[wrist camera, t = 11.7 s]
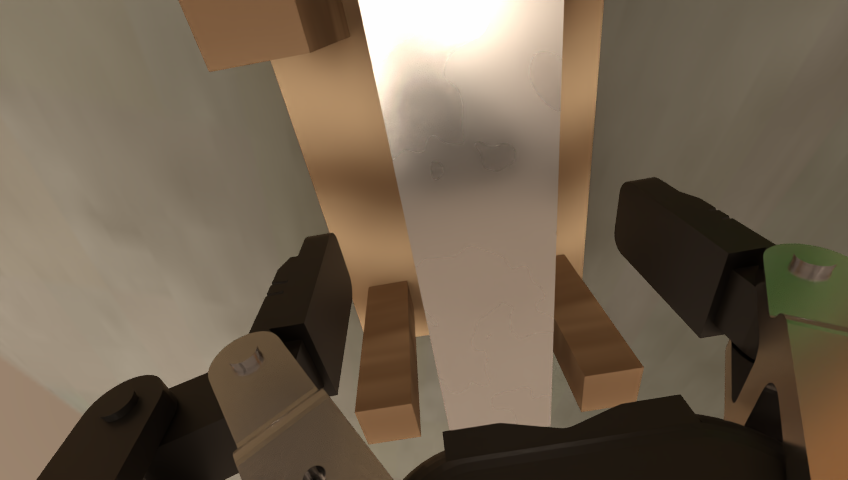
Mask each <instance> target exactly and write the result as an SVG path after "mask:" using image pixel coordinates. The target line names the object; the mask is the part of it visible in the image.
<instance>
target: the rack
mask: <svg viewBox="0 0 848 480" xmlns="http://www.w3.org/2000/svg"><path fill="white" fill-rule="evenodd" d="M179 3H180V5H181V7H182V10H183V12H184V14H185V17H186V19H187V21H188V24H189V26H190V28H191V31H192V33H193V35H194V38H195V40H196V42H197V45H198V47H199V49H200V52H201V54H202V56H203V59H204V61H205V63H206V66H207V68H208V70H209V72H211V71H217V70H222V69H227V68H233V67H238V66H243V65H249V64H254V63H259V62H265V61H270V60H271V63H272V66H273V69H274V72H275V74H276V77H277V80H278V83H279V86H280V89H281V92H282V95H283V98H284V101H285V104H286V107H287V109H288V112H289V115H290V118H291V121H292V124H293V127H294V130H295V133H296V136H297V139H298V142H299V144H300V147H301V150H302V153H303V156H304V159H305V162H306V165H307V168H308V171H309V174H310V177H311V180H312V182H313V185H314V188H315V191H316V194H317V197H318V200H319V203H320V206H321V209H322V212H323V215H324V217H325V220H326V223H327V226H328V229H329V232H330V233H334V234H335V236H336V238H337V240H338V243H339V246H340V249H341V252H342V255H343V257H344V260H345V263H346V266H347V269H348V272H349V275H350V279H351V284H352V299H353V302H354V305H355V308H356V311H357V314H358V317H359V320H360V323H361V325H362V328H363V331H364V334H363V343H362V352H361V361H360V370H359V379H358V388H357V398H356V407H355V414H356V416H357V419H358V421H359V423H360V426H361V428H362V430H363V433H364V435H365V437H366V440H367V442H368V444H374V443H381V442H388V441H394V440H401V439H407V438H414V437H420V436H421V428H420V409H419V391H418V373H417V354H416V337H418V336H424V335H429V330H428V325H427V321H426V316H425V311H424V307H423V302H422V297H421V293H420V288H419V283H418V278H417V274H416V269H415V264H414V260H413V255H412V250H411V246H410V241H409V236H408V232H407V227H406V222H405V217H404V213H403V208H402V203H401V199H400V194H399V189H398V185H397V180H396V175H395V170H394V166H393V161H392V156H391V152H390V147H389V142H388V138H387V133H386V128H385V124H384V119H383V114H382V109H381V105H380V100H379V95H378V91H377V86H376V81H375V77H374V72H373V67H372V62H371V58H370V53H369V48H368V44H367V39H366V34H365V30H364V25H363V20H362V16H361V11H360V6H359V1H358V0H179ZM603 6H604V0H564V18H563V49H562V81H561V112H560V143H559V175H558V206H557V238H556V269H555V300H554V332H553V352H554V354H555V356H556V359H557V361H558V363H559V365H560V367H561V369H562V371H563V374H564V376H565V378H566V380H567V382H568V384H569V386H570V389H571V391H572V393H573V395H574V397H575V399H576V402H577V404H578V406H579V408H580V410H581V412H584V411H590V410H597V409H603V408H610V407H615V406H617V405H620V404H623V403H629V402H636V400H637V396H638V391H639V387H640V382H641V378H642V373H643V369H644V367H643V366H642V364H641V363H640V361H639V360H638V358H637V357H636V356H635V354H634V353H633V351H632V350H631V349H630V347H629V346H628V344H627V343H626V341H625V340H624V339H623V337H622V336H621V334H620V333H619V331H618V330H617V329H616V327H615V326H614V324H613V323H612V321H611V320H610V319H609V317H608V316H607V314H606V313H605V311H604V310H603V309H602V307H601V306H600V304H599V303H598V302H597V300H596V299H595V297H594V296H593V294H592V293H591V292H590V290H589V289H588V287H587V286H586V284H585V283H584V282H583V280H582V274H583V261H584V248H585V235H586V223H587V210H588V197H589V184H590V172H591V159H592V146H593V133H594V121H595V108H596V95H597V82H598V70H599V57H600V44H601V31H602V19H603Z"/></svg>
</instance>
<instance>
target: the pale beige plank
mask: <svg viewBox="0 0 848 480" xmlns="http://www.w3.org/2000/svg"><path fill="white" fill-rule="evenodd" d="M358 1H359V6H360V11H361V16H362V20H363V25H364V30H365V34H366V39H367V44H368V48H369V53H370V58H371V62H372V67H373V72H374V77H375V81H376V86H377V91H378V95H379V100H380V105H381V109H382V114H383V119H384V124H385V128H386V133H387V138H388V142H389V147H390V152H391V156H392V161H393V166H394V170H395V175H396V180H397V185H398V189H399V194H400V199H401V203H402V208H403V213H404V217H405V222H406V227H407V232H408V236H409V241H410V246H411V250H412V255H413V260H414V264H415V269H416V274H417V278H418V283H419V288H420V293H421V297H422V302H423V307H424V311H425V316H426V321H427V325H428V330H429V335H430V340H431V344H432V349H433V354H434V358H435V363H436V368H437V372H438V377H439V382H440V386H441V391H442V396H443V401H444V405H445V410H446V415H447V419H448V424H449V429H450V430H457V429H463V428H470V427H476V426H482V425H489V424H495V423H509V424H519V425H530V426H541V427H545V426H551V394H552V363H553V332H554V300H555V269H556V238H557V206H558V175H559V143H560V112H561V81H562V49H563V18H564V0H358Z"/></svg>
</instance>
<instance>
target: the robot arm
mask: <svg viewBox="0 0 848 480" xmlns="http://www.w3.org/2000/svg"><path fill="white" fill-rule="evenodd" d="M615 242H616V245H617V248H618V250H619V251H620V253H621V254H622V255H623V256H624V257H625V258H626V259H627V260H628V261H629V263H630V264H631V265H632V266H633V267H634V268H635V269H636V270H637V271H638V272H639V273H640V274H641V275H642V277H643V278H644V279H645V280H646V281H647V282H648V283H649V284H650V285H651V286H652V287H653V288H654V289H655V290H656V292H657V293H658V294H659V295H660V296H661V297H662V298H663V299H664V300H665V301H666V302H667V303H668V304H669V305H670V307H671V308H672V309H673V310H674V311H675V312H676V313H677V314H678V315H679V316H680V317H681V318H682V319H683V321H684V322H685V323H686V324H687V325H688V326H689V327H690V328H691V329H692V330H693V331H694V332H695V333H696V334H697V336H698V337H699V338H704V337H711V336H717V335H723V334H725V335H726V336H727V337H728V338H729V341H728V344H727V346H726V350H725V412H724V420H723V419H720V418H716V417H710V416H705V415H699V414H695V413H694V412H693V411H692V409H691V408H690V407H689V405H688V404H687V403H686V401H685V400H684V399H683V397H682V396H681V395H674V396H668V397H661V398H655V399H649V400H642V401H636V402H629V403H623V404H620V405H617V406H615V407H613V408H611V409H609V410H607V411H604V412H602V413H600V414H598V415H596V416H594V417H591V418H589V419H587V420H585V421H583V422H581V423H578V424H576V425H574V426H572V427H569V428H552V427H541V426H530V425H519V424H509V423H495V424H489V425H482V426H476V427H470V428H463V429H457V430H450V431H444V432H443V440H444V449H445V450H444V451H442V452H440V453H438V454H436V455H434V456H432V457H431V458H429V459H427V460H426V461H424V462H423V463H421V464H420V465H419V466H417V467H416V468H415V469H414V470H413V471H411V472H410V473H409V474H408V475H407V476H406V477H405V478H404V479H403V480H848V257H847V256H844V255H842V254H840V253H837V252H835V251H832V250H828V249H825V248H821V247H817V246H811V245H805V244H780V245H775V244H774V243H772V242H770V241H769V240H767V239H765V238H764V237H762V236H761V235H759V234H757V233H756V232H754V231H752V230H751V229H749V228H747V227H746V226H744V225H743V224H741V223H739V222H738V221H736V220H734V219H733V218H732V219H730V218H729V216H728V215H726V214H725V213H723V212H721V211H720V210H716V208H715V207H713V206H712V205H710V204H708V203H707V202H705V201H703V200H702V199H700V198H697V197H694V196H691V195H688V194H685V193H682V192H679V191H678V190H676V189H674V188H673V187H671V186H670V185H668V184H667V183H665V182H663V181H662V180H660V179H659V178H656V177H652V178H647V179H641V180H635V181H629V182H625V183H624V184H623V185H622V187H621V189H620V194H619V202H618V209H617V217H616V224H615ZM351 303H352V284H351V279H350V275H349V272H348V269H347V266H346V263H345V260H344V257H343V255H342V252H341V249H340V246H339V243H338V240H337V238H336V236H335V234H334V233H327V234H321V235H316V236H310V237H306V238H305V240H304V242H303V245H302V247H301V250H300V252H299V255H298V256H296V257H290V258H289V259H288V260H287V261H286V262H285V263H284V264H283V265H282V266H281V267H280V268H279V269H278V271H277V273H276V275H275V277H274V280H273V282H272V285H271V286H270V288H269V291H268V293H267V297H265V299H264V302H263V304H262V306H261V308H260V310H259V312H258V315H257V317H256V319H255V321H254V323H253V326H252V328H251V330H250V332H249V334H247V335H244V336H242V337H240V338H238V339H236V340H234V341H233V342H231V343H230V344H228V345H227V346H226V347H225V348H223V349H222V350H221V351H220V352H219V353H218V355H217V356H216V357H215V358H214V360H213V361H212V363H211V365H210V367H209V371H208V373H206V374H203V375H201V376H198V377H196V378H193V379H191V380H189V381H186V382H184V383H181V384H179V385H176V386H174V387H171V388H169V389H168V387H167V386H166V385H165V384H164V383H163V381H162V380H161V379H160V378H159V377H157V376H154V375H144V376H139V377H135V378H132V379H130V380H127V381H125V382H123V383H121V384H119V385H117V386H116V387H114V388H112V389H111V390H109V391H108V392H106V393H105V394H104V395H103V396H101V397H100V398H99V399H98V400H97V401H95V402H94V403H93V404H92V405H91V406H90V407H89V408H88V410H87V411H86V412H85V413H84V415H83V416H82V417H81V419H80V420H79V421H78V423H77V424H76V426H75V427H74V428H73V430H72V431H71V433H70V434H69V435H68V437H67V438H66V439H65V441H64V442H63V444H62V445H61V446H60V448H59V449H58V451H57V452H56V453H55V455H54V456H53V458H52V459H51V460H50V462H49V463H48V464H47V466H46V467H45V469H44V470H43V471H42V473H41V474H40V476H39V477H38V478H37V480H225V479H227V478H229V477H231V476H233V475H235V474H237V473H239V474H240V476H241V479H242V480H393V478H392V477H391V476H390V474H389V473H388V472H387V470H386V469H385V468H384V467H383V465H382V464H381V463H380V461H379V460H378V459H377V457H376V456H375V455H374V454H373V452H372V451H371V450H370V448H369V447H368V446H367V445H366V443H365V442H364V441H363V439H362V438H361V437H360V435H359V434H358V433H357V432H356V430H355V429H354V428H353V426H352V425H351V424H350V423H349V421H348V420H347V419H346V417H345V416H344V415H343V413H342V412H341V411H340V410H339V408H338V407H337V406H336V404H335V403H334V402H333V401H332V399H331V398H330V397H329V396H335V395H338V388H339V381H340V375H341V368H342V362H343V355H344V349H345V342H346V336H347V329H348V322H349V316H350V309H351Z"/></svg>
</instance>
